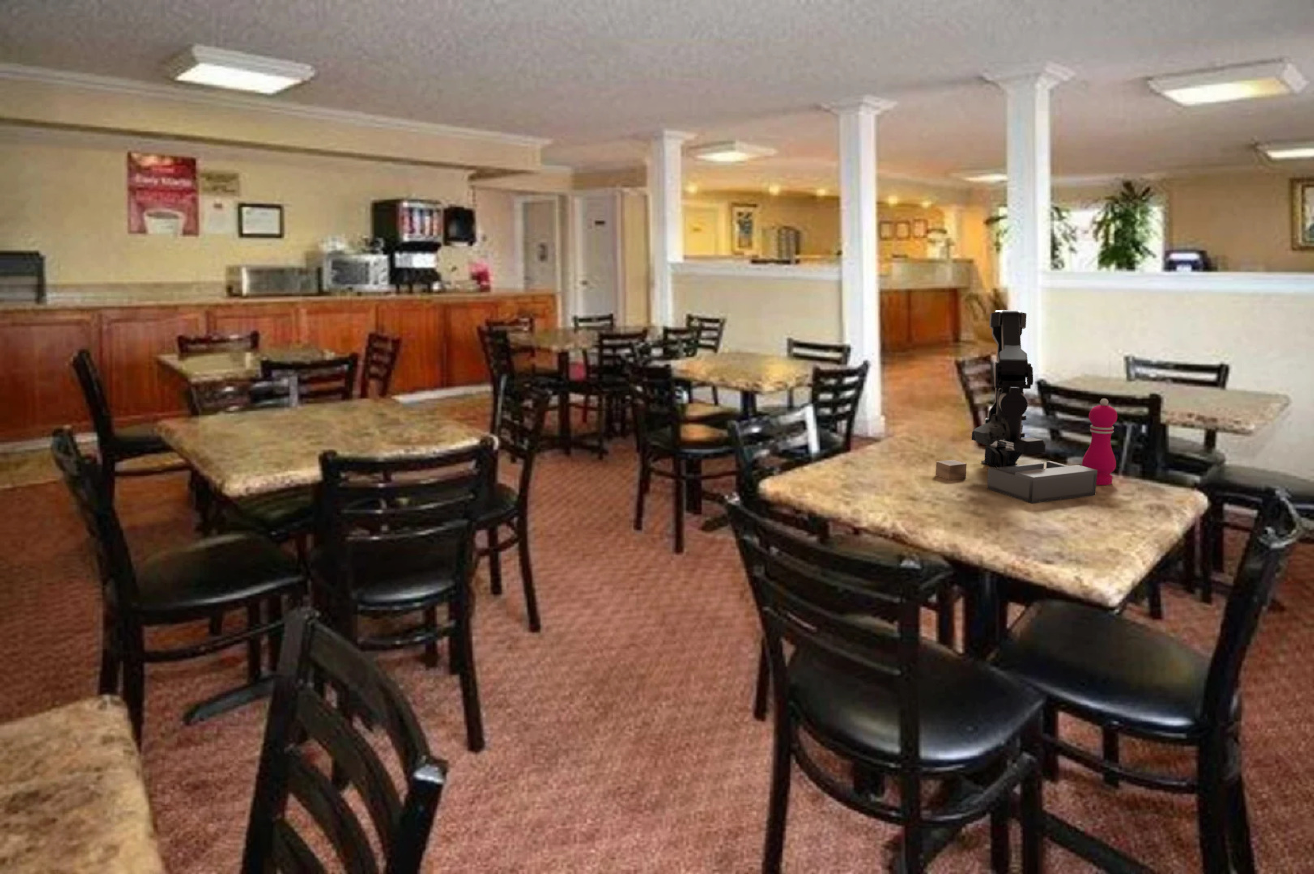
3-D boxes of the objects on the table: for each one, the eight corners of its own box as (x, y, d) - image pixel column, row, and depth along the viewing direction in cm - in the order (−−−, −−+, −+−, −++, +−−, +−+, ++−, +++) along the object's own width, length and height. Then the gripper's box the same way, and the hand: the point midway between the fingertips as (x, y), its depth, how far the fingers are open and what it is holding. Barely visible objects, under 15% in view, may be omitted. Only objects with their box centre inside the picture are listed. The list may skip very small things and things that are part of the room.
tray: (1039, 476, 219) (1040, 462, 219) (1084, 489, 207) (1085, 474, 206) (987, 482, 214) (988, 468, 213) (1029, 496, 201) (1030, 481, 201)
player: (1048, 481, 218) (1050, 457, 217) (1095, 495, 206) (1097, 469, 205) (987, 488, 212) (988, 464, 211) (1031, 503, 199) (1033, 477, 198)
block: (952, 473, 227) (953, 459, 227) (965, 477, 223) (966, 463, 222) (935, 475, 225) (936, 461, 225) (948, 479, 221) (949, 465, 220)
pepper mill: (1087, 477, 222) (1094, 395, 219) (1118, 482, 217) (1126, 398, 214) (1075, 482, 217) (1082, 398, 214) (1107, 487, 212) (1115, 402, 209)
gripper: (955, 407, 220) (951, 470, 223) (1010, 419, 203) (1005, 487, 206) (992, 404, 224) (988, 466, 227) (1049, 416, 207) (1044, 483, 210)
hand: (1005, 475), depth 218 cm, fingers closed
